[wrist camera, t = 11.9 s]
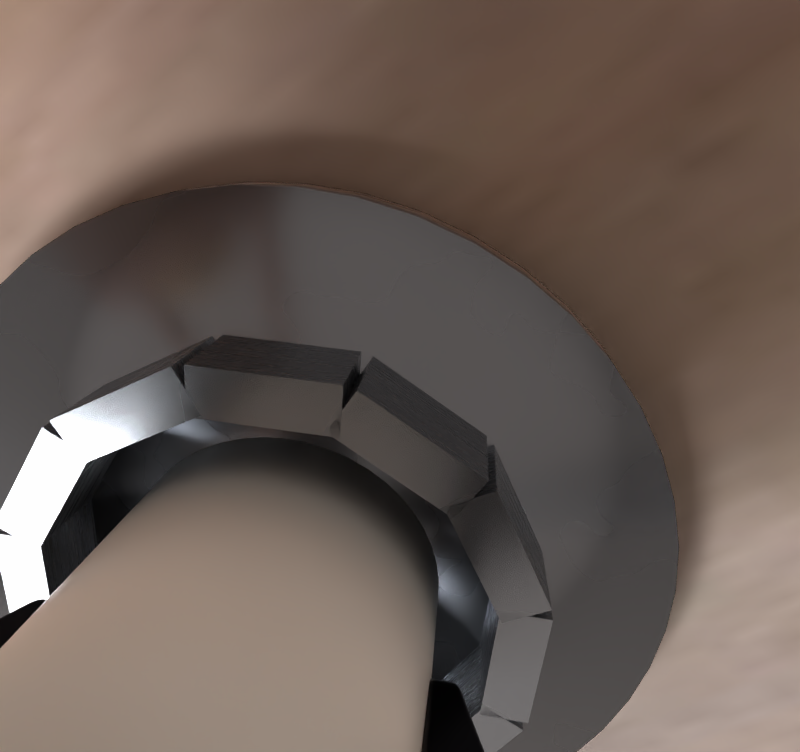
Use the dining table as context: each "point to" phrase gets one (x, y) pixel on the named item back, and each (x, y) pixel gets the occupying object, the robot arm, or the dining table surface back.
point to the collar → (352, 423)
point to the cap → (236, 617)
